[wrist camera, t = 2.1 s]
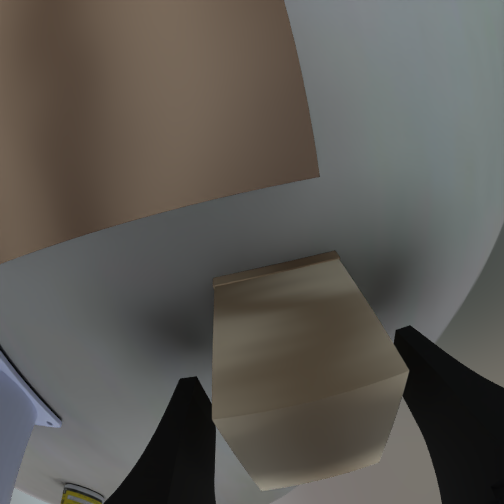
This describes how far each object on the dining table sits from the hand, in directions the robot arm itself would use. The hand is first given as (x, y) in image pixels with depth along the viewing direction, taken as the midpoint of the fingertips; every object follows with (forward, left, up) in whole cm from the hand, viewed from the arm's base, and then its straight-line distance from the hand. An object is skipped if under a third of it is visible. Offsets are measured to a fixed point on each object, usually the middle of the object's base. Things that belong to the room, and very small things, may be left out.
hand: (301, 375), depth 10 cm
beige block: (0, 0, -3) cm, 3 cm away
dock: (-5, +13, -3) cm, 14 cm away
